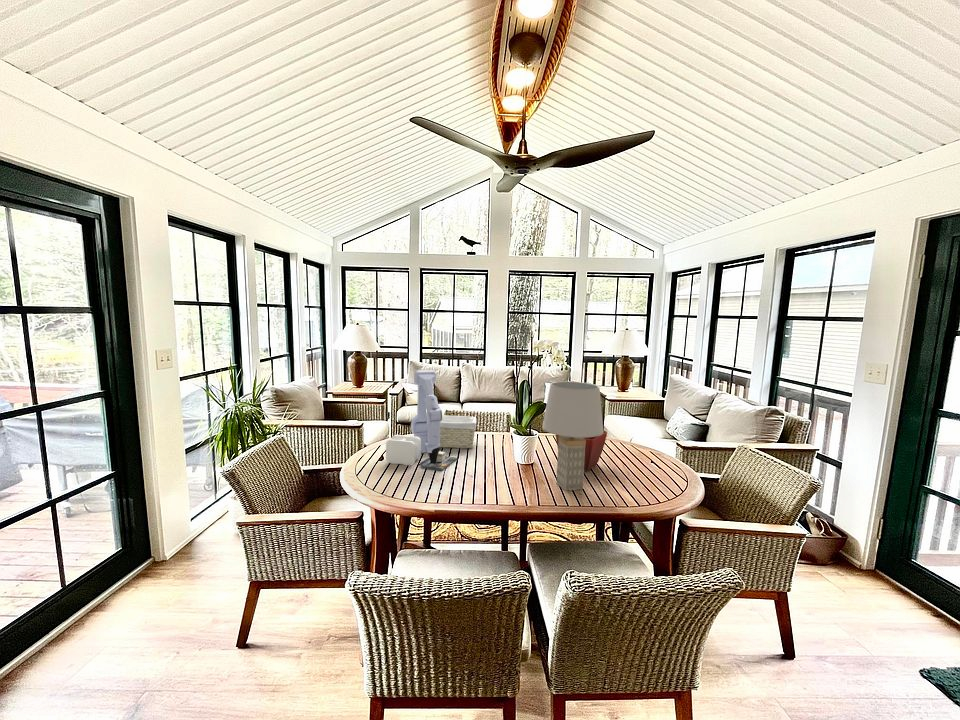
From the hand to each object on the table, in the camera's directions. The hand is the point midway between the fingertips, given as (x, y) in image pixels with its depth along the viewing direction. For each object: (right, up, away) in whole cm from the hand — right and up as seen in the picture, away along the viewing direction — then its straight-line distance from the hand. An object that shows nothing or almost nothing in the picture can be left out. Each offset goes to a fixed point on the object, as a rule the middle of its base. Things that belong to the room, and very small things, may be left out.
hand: (433, 463), depth 202 cm
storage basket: (+7, +1, +37) cm, 38 cm away
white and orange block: (+2, 0, +6) cm, 6 cm away
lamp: (+60, -6, -17) cm, 62 cm away
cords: (-4, -1, +10) cm, 10 cm away
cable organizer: (-15, -1, +8) cm, 18 cm away
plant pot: (+70, -4, +10) cm, 71 cm away
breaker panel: (+2, -2, +6) cm, 7 cm away
